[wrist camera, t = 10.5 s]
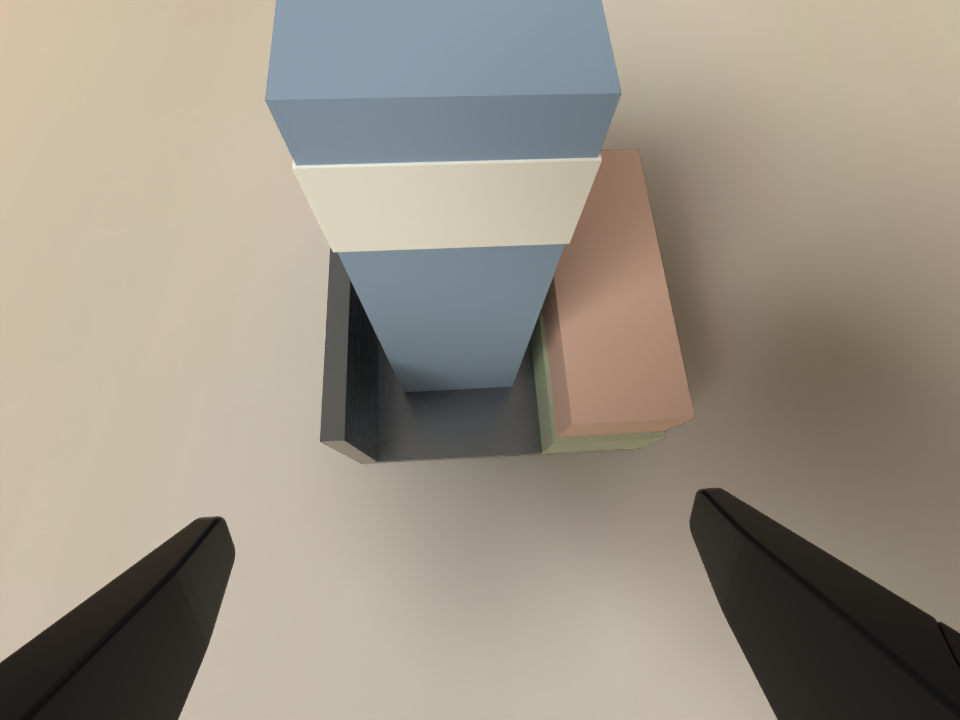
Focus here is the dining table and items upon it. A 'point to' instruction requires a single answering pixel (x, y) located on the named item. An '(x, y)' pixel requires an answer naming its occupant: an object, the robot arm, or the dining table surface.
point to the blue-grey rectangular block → (445, 162)
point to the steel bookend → (411, 399)
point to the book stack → (609, 326)
